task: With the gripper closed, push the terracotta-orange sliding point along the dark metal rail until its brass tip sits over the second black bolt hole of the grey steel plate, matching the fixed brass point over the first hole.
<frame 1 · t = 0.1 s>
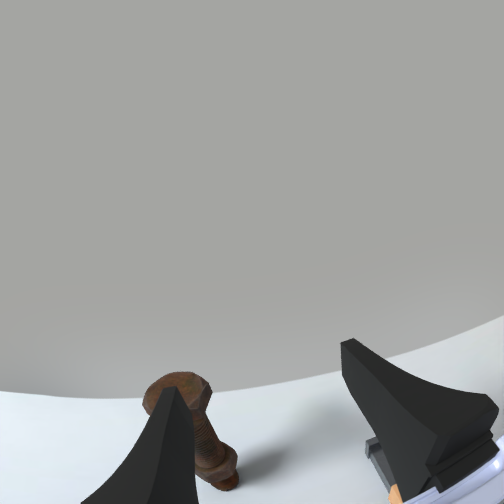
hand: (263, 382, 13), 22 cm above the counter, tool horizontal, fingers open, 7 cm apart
bolt: (226, 481, 27), on the counter
sliding point: (448, 482, 17), point 3 cm above the counter, slide at 0.0 cm
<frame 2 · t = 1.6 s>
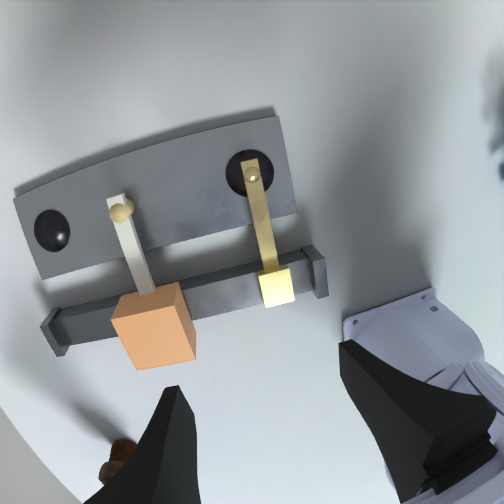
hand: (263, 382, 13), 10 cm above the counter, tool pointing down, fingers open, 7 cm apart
bolt: (126, 444, 28), on the counter
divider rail: (175, 297, 22), on the counter
sliding point: (139, 280, 18), point 3 cm above the counter, slide at 0.0 cm
hole plate: (142, 199, 19), on the counter
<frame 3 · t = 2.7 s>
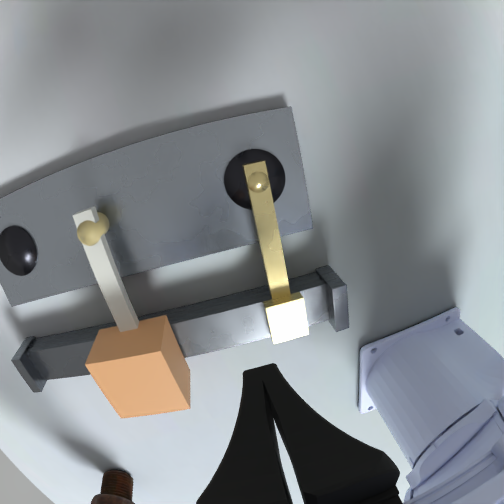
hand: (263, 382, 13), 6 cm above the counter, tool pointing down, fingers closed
bolt: (118, 473, 24), on the counter
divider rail: (164, 329, 18), on the counter
sliding point: (118, 315, 14), point 3 cm above the counter, slide at 0.0 cm
hole plate: (121, 213, 15), on the counter
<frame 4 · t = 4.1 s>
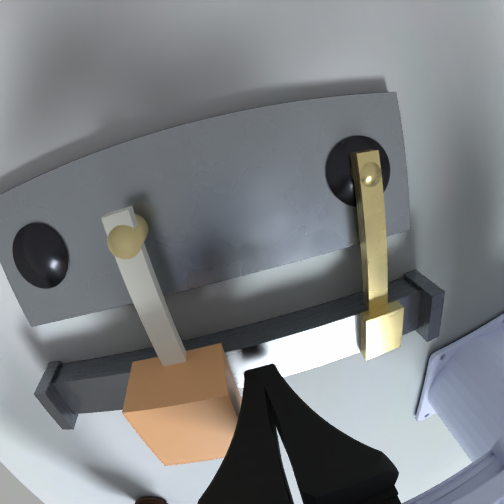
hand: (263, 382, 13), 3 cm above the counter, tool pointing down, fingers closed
bolt: (151, 499, 21), on the counter
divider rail: (233, 349, 15), on the counter
sliding point: (163, 348, 11), point 3 cm above the counter, slide at 1.2 cm, touching gripper
hole plate: (190, 206, 12), on the counter
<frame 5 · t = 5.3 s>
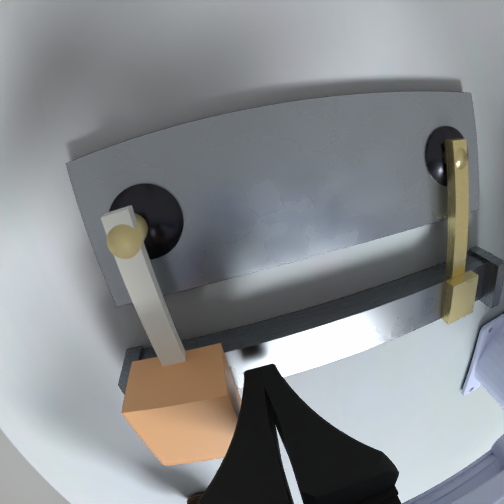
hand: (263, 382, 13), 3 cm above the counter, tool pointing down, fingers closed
bolt: (204, 495, 21), on the counter
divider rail: (332, 320, 15), on the counter
sliding point: (162, 348, 11), point 3 cm above the counter, slide at 6.4 cm, touching gripper
hole plate: (314, 176, 13), on the counter
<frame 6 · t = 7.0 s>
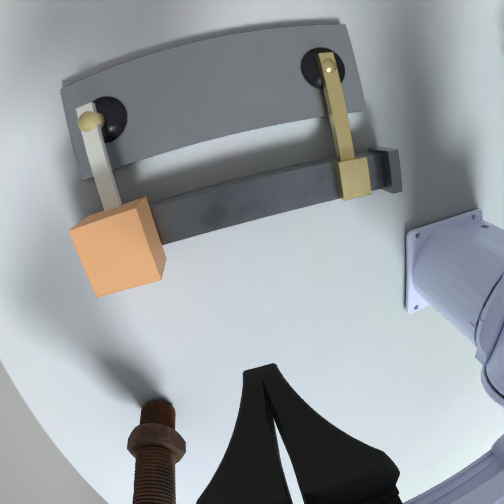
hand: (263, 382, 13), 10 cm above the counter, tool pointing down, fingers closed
bolt: (158, 406, 26), on the counter
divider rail: (241, 197, 20), on the counter
sliding point: (104, 191, 16), point 3 cm above the counter, slide at 6.4 cm
hole plate: (214, 87, 17), on the counter
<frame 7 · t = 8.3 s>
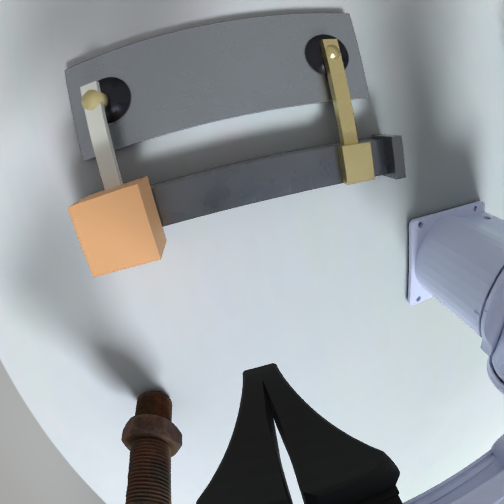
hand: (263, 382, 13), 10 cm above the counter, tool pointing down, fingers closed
bolt: (155, 398, 25), on the counter
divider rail: (243, 180, 20), on the counter
sliding point: (105, 169, 15), point 3 cm above the counter, slide at 6.4 cm
hole plate: (218, 70, 17), on the counter
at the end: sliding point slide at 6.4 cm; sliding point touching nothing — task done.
